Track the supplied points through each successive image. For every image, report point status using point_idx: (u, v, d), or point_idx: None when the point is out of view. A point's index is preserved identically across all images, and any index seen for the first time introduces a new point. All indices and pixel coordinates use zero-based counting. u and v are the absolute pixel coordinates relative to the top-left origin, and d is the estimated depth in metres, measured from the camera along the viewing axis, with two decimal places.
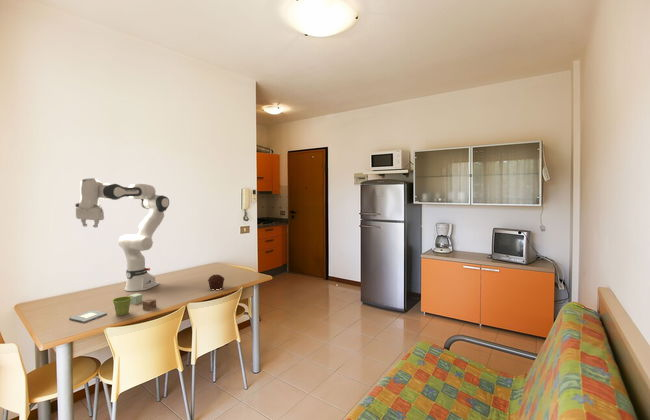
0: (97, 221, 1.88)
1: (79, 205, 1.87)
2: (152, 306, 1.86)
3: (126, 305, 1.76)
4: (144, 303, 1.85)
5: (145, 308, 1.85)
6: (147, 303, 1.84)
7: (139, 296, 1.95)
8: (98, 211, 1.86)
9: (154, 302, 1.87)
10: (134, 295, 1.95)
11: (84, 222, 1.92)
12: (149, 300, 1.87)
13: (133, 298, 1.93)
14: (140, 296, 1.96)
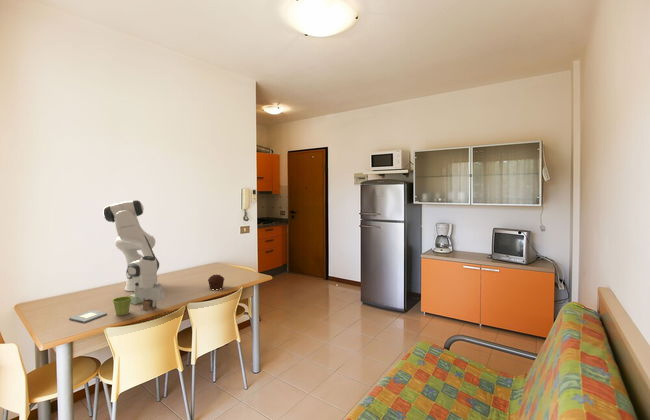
0: (155, 300, 1.85)
1: (139, 285, 1.83)
2: None
3: (126, 305, 1.76)
4: (144, 303, 1.85)
5: (145, 308, 1.85)
6: (147, 303, 1.84)
7: None
8: (159, 292, 1.82)
9: None
10: (134, 295, 1.95)
11: None
12: (149, 300, 1.87)
13: (133, 298, 1.93)
14: None
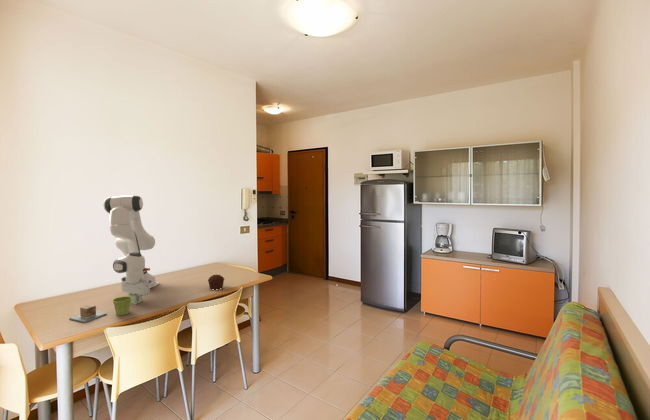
0: (141, 295, 1.94)
1: (126, 280, 1.93)
2: (91, 313, 1.72)
3: (126, 305, 1.76)
4: (82, 309, 1.70)
5: (83, 315, 1.70)
6: (85, 309, 1.70)
7: None
8: (145, 286, 1.91)
9: (93, 308, 1.73)
10: (134, 295, 1.95)
11: None
12: (88, 306, 1.72)
13: (133, 298, 1.93)
14: None
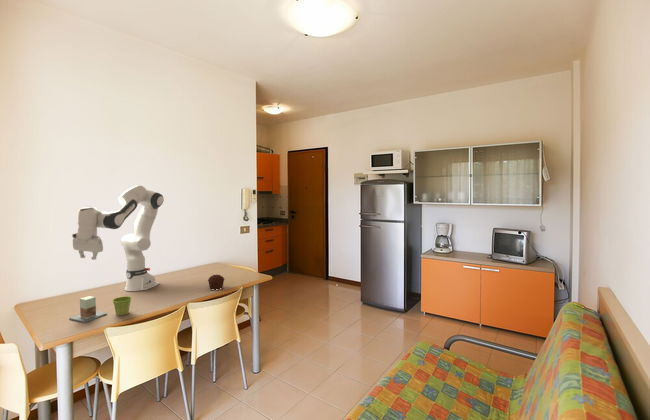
0: (96, 253, 1.77)
1: (76, 236, 1.76)
2: (91, 313, 1.72)
3: (126, 305, 1.76)
4: (82, 309, 1.70)
5: (83, 315, 1.70)
6: (85, 309, 1.70)
7: (91, 299, 1.72)
8: (97, 243, 1.74)
9: (93, 308, 1.73)
10: (85, 298, 1.71)
11: (82, 253, 1.81)
12: None
13: (84, 301, 1.69)
14: (93, 299, 1.72)
